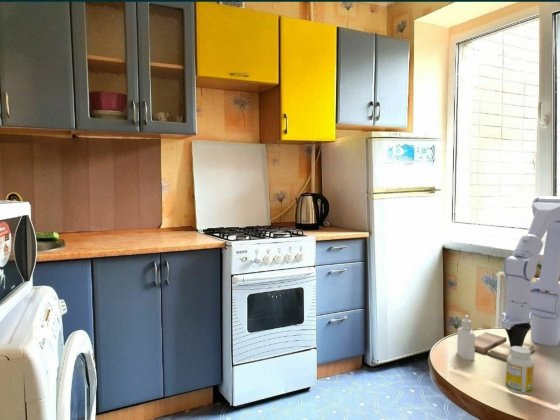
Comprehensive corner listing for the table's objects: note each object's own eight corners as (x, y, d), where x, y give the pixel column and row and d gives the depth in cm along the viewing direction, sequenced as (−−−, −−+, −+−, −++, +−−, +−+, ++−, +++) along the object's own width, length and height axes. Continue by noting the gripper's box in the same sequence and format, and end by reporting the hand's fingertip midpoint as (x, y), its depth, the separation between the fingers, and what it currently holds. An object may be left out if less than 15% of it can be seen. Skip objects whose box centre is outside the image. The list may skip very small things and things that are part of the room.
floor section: (484, 338, 129) (484, 331, 129) (535, 353, 118) (536, 345, 118) (461, 349, 121) (461, 341, 121) (513, 366, 110) (514, 357, 109)
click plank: (508, 343, 123) (508, 338, 123) (533, 350, 118) (534, 345, 118) (487, 354, 115) (487, 348, 115) (513, 362, 110) (513, 357, 110)
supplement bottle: (510, 394, 95) (511, 352, 95) (502, 383, 100) (503, 344, 100) (536, 396, 94) (538, 354, 94) (526, 385, 99) (528, 345, 99)
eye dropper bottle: (474, 356, 116) (475, 313, 115) (474, 364, 111) (475, 319, 110) (457, 353, 118) (458, 311, 117) (456, 361, 113) (457, 317, 112)
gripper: (514, 293, 122) (512, 339, 123) (490, 301, 113) (488, 351, 114) (541, 298, 117) (538, 346, 117) (518, 307, 108) (516, 359, 108)
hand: (516, 349), depth 115 cm, fingers closed, pressing on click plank
